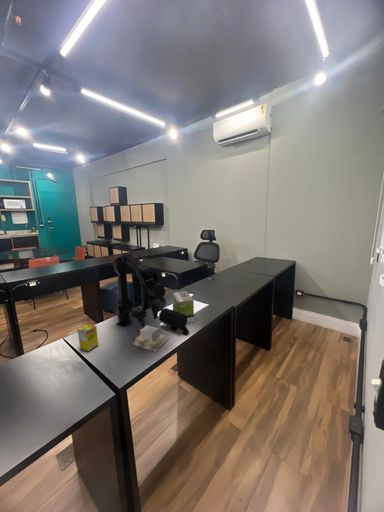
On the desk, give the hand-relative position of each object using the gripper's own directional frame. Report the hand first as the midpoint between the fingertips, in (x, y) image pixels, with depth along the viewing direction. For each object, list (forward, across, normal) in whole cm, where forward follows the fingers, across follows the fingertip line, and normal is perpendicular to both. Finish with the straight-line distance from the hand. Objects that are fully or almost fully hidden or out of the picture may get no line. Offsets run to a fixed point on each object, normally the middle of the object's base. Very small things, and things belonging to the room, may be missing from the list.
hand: (149, 323), depth 106 cm
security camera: (+11, +16, -4) cm, 19 cm away
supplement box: (+11, -17, +24) cm, 31 cm away
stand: (+10, 0, 0) cm, 11 cm away
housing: (+8, 0, 0) cm, 8 cm away
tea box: (+11, +29, -2) cm, 31 cm away
